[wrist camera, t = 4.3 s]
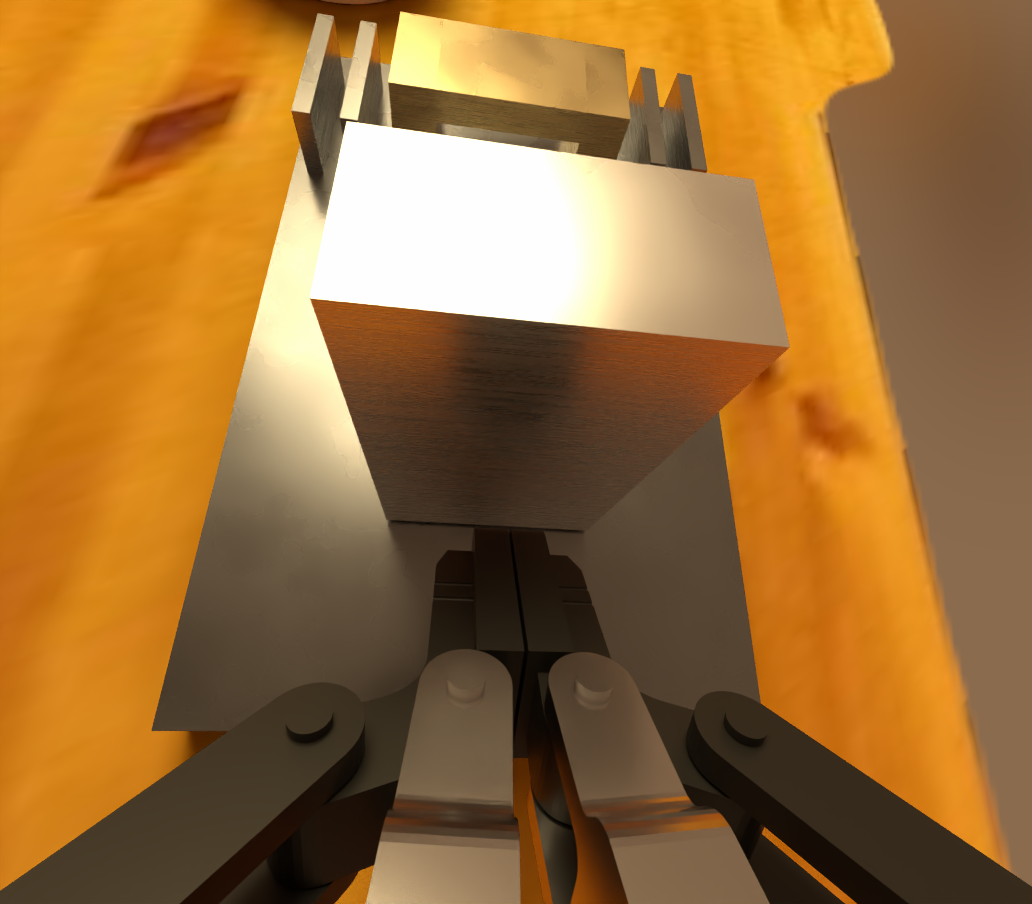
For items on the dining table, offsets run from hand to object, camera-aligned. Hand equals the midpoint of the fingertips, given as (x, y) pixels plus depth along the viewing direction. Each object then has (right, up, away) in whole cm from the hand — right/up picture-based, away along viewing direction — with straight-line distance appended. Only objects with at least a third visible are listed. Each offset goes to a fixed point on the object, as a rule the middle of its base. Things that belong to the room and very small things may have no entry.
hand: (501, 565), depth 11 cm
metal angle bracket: (0, +5, +6) cm, 8 cm away
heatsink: (-1, +6, +9) cm, 11 cm away
